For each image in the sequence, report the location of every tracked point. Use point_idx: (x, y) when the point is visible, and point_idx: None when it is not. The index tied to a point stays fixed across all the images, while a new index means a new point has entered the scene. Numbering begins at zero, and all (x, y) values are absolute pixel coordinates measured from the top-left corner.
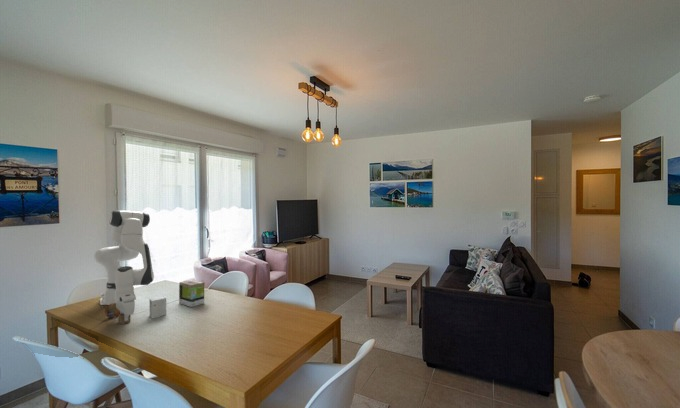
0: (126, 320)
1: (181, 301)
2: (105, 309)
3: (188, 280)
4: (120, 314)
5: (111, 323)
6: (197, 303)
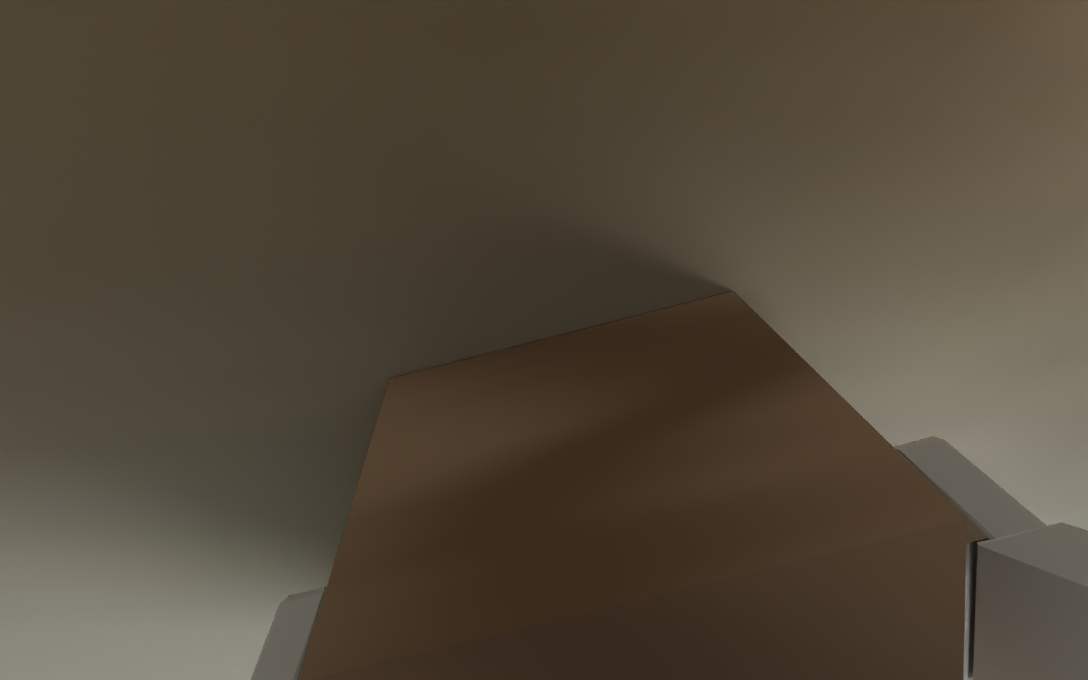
0: None
1: None
2: None
3: None
4: (817, 631)
5: (784, 11)
6: None
